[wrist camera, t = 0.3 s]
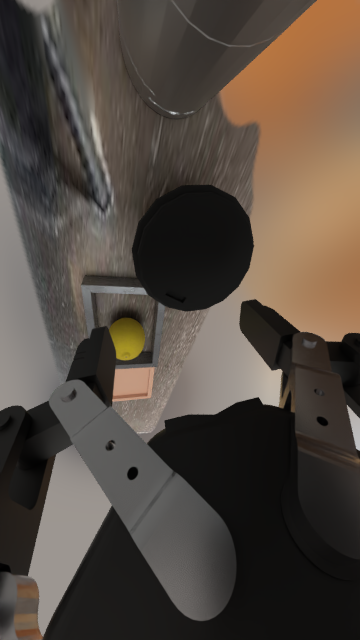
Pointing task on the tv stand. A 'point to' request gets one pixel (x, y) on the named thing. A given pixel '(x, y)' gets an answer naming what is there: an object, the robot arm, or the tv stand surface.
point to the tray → (133, 383)
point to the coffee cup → (193, 247)
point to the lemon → (127, 338)
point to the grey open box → (123, 287)
